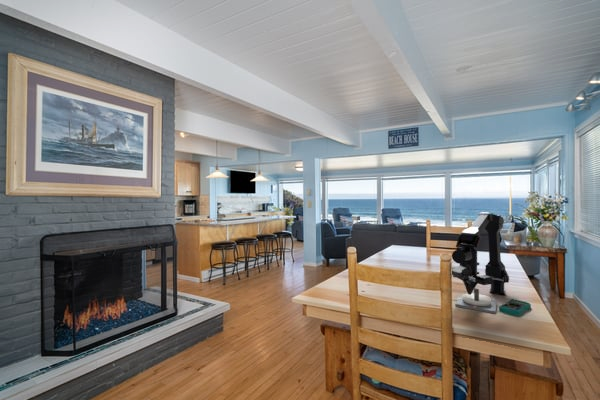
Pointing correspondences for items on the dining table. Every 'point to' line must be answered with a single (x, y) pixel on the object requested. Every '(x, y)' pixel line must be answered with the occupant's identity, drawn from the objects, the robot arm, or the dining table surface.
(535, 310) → the dining table surface
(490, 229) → the robot arm
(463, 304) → the base plate
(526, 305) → the digital multimeter
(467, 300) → the dial
